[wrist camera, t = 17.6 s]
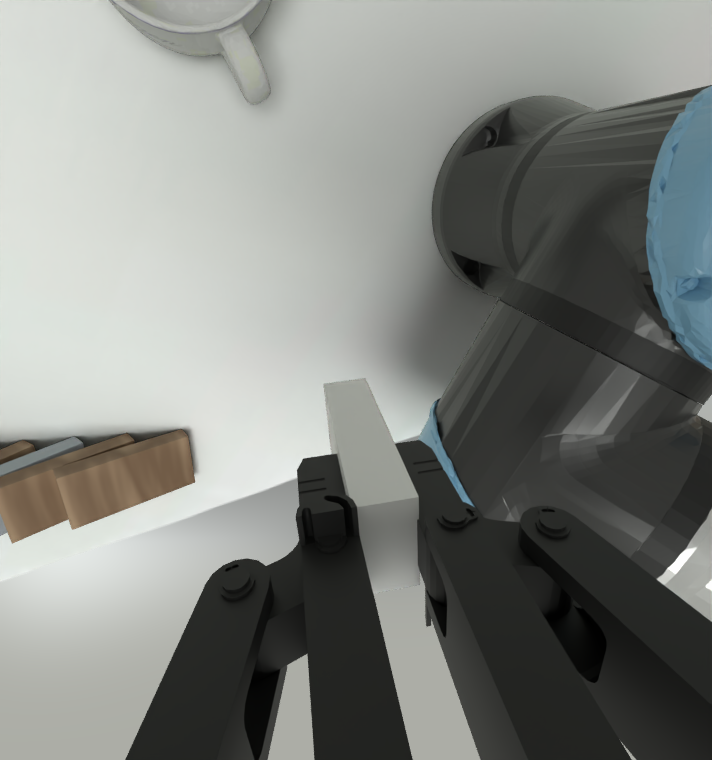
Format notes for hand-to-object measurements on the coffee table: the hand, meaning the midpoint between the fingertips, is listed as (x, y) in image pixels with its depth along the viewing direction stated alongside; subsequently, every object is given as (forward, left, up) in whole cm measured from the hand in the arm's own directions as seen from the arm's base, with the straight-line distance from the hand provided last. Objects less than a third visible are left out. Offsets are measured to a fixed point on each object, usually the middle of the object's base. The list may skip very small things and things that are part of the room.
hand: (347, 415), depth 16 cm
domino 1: (+11, +16, -23) cm, 30 cm away
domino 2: (+15, +16, -23) cm, 32 cm away
